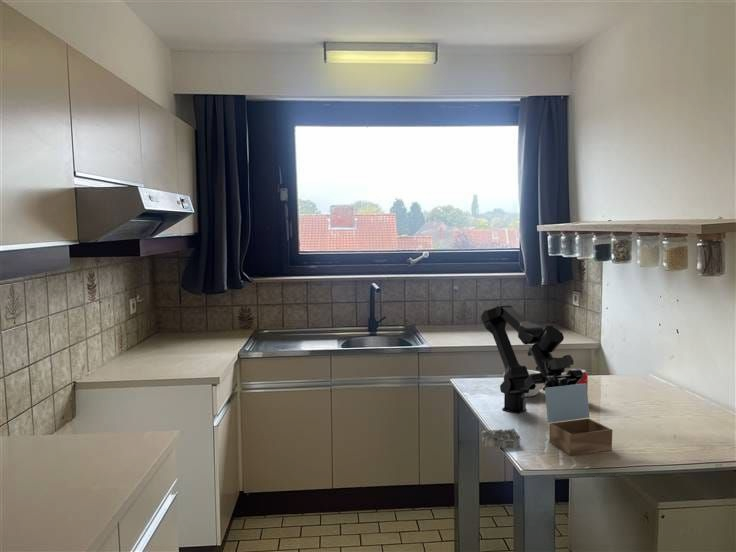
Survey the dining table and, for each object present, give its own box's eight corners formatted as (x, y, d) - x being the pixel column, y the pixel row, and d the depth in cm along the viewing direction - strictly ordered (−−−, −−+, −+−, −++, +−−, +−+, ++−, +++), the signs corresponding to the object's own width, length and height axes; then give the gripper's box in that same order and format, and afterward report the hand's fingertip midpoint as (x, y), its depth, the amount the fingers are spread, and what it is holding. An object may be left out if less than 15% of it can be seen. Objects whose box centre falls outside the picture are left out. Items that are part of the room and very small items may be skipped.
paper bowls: (519, 385, 228) (519, 366, 228) (551, 394, 217) (552, 373, 216) (495, 392, 219) (495, 372, 218) (528, 401, 207) (528, 380, 206)
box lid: (549, 422, 167) (547, 422, 168) (589, 417, 171) (587, 417, 172) (546, 388, 168) (544, 387, 169) (586, 383, 172) (584, 383, 173)
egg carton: (485, 449, 164) (485, 436, 163) (480, 439, 171) (480, 426, 171) (522, 449, 164) (522, 435, 163) (515, 439, 171) (515, 426, 171)
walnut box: (549, 443, 168) (549, 423, 167) (588, 437, 172) (588, 418, 171) (571, 456, 158) (571, 435, 158) (611, 449, 162) (612, 429, 162)
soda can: (562, 401, 207) (563, 369, 206) (572, 398, 212) (573, 366, 210) (581, 406, 202) (582, 373, 201) (590, 402, 206) (591, 370, 205)
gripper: (530, 348, 172) (551, 393, 162) (581, 344, 177) (604, 387, 168) (515, 367, 180) (534, 411, 170) (564, 363, 185) (586, 405, 176)
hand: (565, 403), depth 171 cm, fingers closed
